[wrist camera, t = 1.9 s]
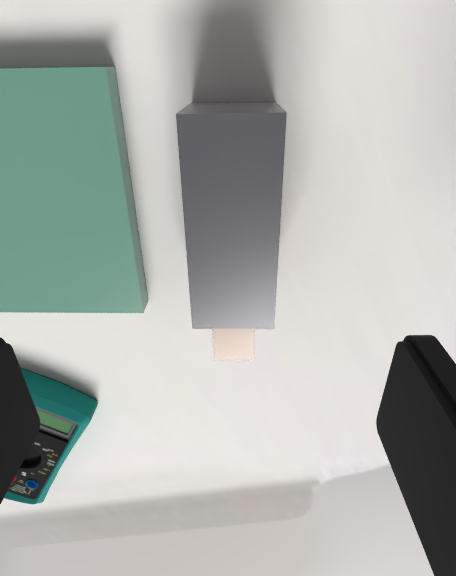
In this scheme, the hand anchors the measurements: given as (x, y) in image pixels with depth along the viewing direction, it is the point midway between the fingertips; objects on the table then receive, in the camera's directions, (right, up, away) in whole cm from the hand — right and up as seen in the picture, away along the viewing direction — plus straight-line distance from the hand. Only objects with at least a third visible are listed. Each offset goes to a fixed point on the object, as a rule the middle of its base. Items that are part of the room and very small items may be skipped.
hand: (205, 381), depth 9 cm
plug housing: (+1, +6, +14) cm, 15 cm away
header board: (-16, +8, +14) cm, 22 cm away
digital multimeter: (-17, -10, +25) cm, 32 cm away
